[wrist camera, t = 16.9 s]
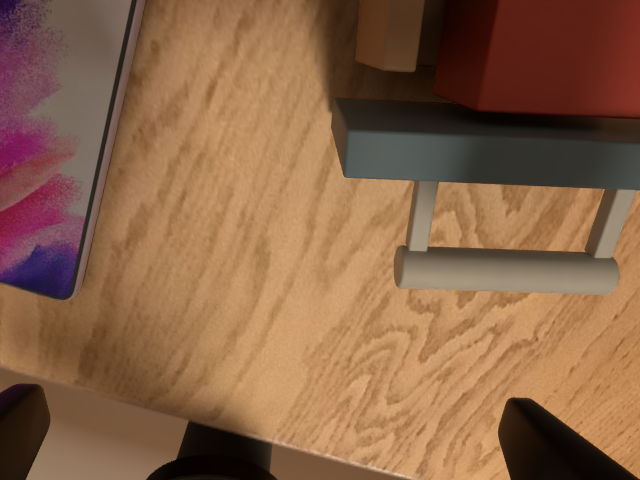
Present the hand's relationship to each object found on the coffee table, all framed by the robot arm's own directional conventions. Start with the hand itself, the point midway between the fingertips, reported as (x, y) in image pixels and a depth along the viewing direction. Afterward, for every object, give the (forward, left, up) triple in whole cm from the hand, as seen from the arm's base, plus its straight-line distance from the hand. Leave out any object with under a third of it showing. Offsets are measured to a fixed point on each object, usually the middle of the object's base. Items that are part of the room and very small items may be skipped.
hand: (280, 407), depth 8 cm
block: (+7, -7, -10) cm, 14 cm away
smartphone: (+3, +11, -12) cm, 16 cm away
